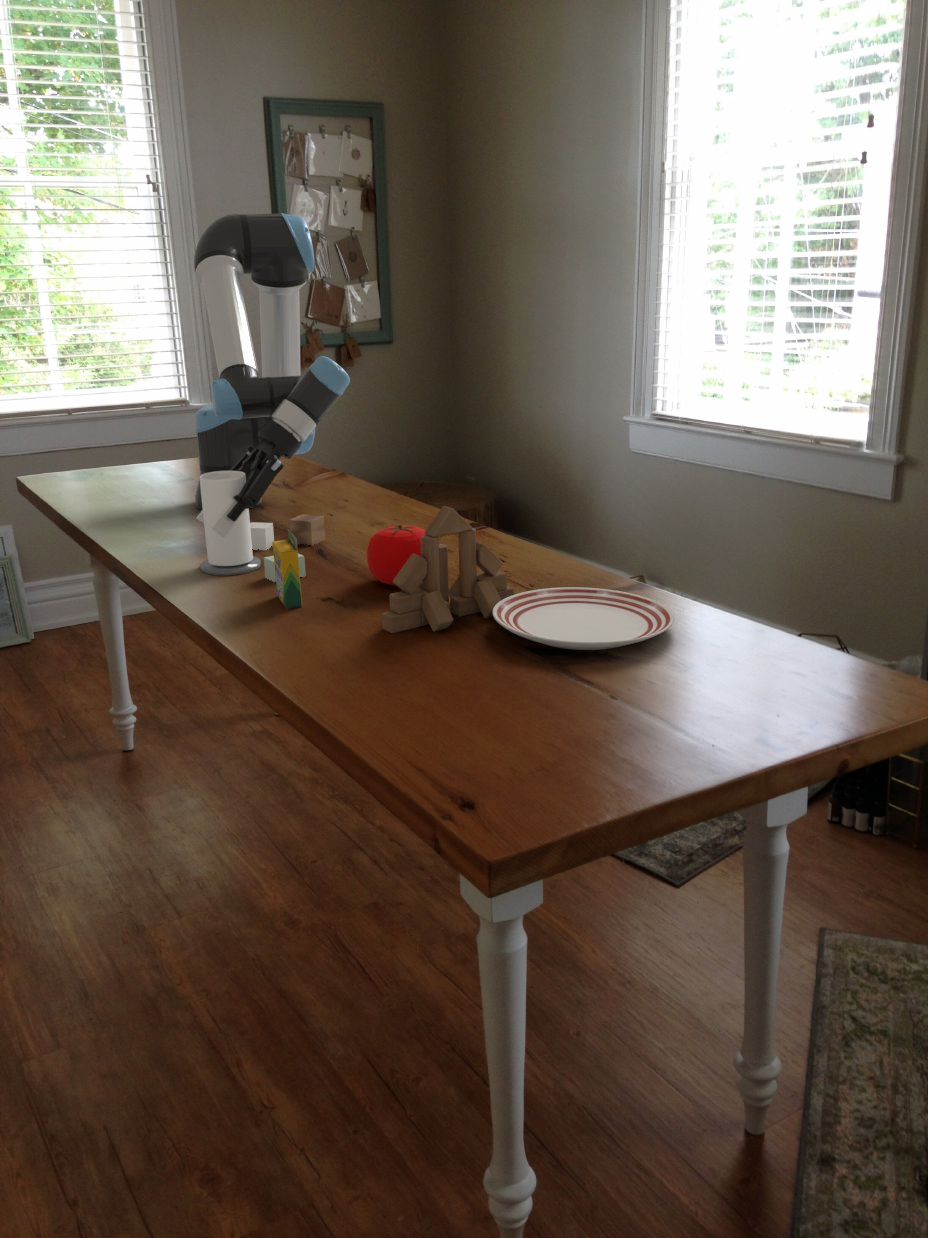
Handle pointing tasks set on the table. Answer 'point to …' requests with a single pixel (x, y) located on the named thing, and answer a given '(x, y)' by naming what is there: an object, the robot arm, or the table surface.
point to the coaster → (230, 568)
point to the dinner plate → (582, 617)
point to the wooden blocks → (446, 579)
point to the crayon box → (287, 572)
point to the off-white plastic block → (261, 535)
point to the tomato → (392, 551)
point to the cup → (215, 500)
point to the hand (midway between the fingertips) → (209, 527)
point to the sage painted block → (271, 567)
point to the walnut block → (308, 529)
